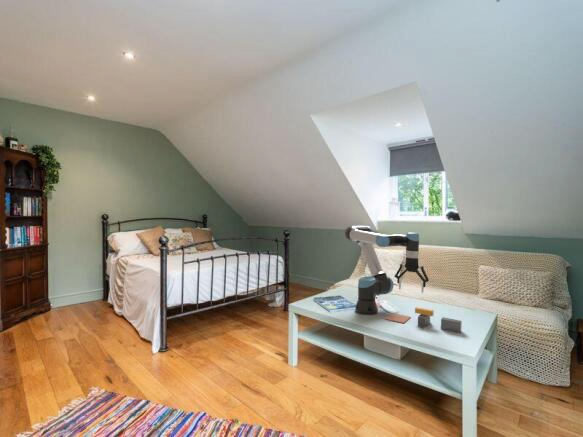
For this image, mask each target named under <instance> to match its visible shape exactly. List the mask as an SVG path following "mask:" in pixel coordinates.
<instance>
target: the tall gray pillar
mask: <svg viewBox="0 0 583 437" xmlns="http://www.w3.org/2000/svg"><path fill="white" fill-rule="evenodd" d="M430 322H431V316H428V315H423V314H419V315H418V316H417V327H419V328H426V327H427V326H428V325H429V324H430Z"/></svg>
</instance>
